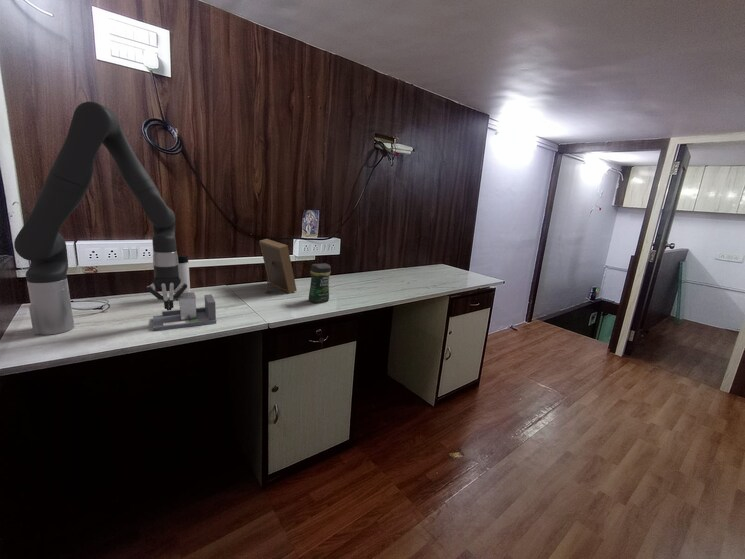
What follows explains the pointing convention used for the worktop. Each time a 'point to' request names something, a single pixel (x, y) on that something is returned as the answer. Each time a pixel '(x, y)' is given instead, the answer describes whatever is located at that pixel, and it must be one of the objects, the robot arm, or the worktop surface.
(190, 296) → the carriage
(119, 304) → the worktop surface
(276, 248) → the photo frame
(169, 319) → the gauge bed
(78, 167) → the robot arm
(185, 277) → the travel mug
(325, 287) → the coffee jar
